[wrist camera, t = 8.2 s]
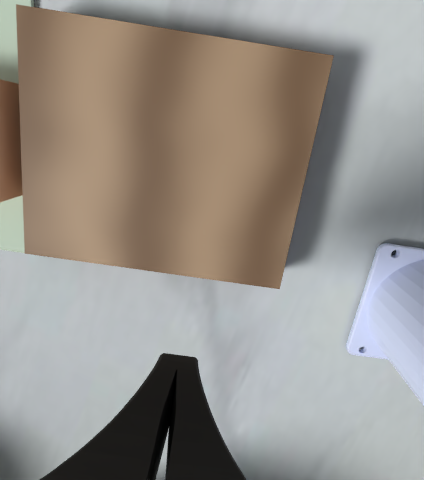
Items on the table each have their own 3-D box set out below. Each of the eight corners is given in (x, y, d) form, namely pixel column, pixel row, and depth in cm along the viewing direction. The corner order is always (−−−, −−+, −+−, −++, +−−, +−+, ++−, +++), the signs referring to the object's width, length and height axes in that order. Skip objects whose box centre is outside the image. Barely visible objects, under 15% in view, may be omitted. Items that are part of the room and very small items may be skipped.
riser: (317, 66, 18) (333, 55, 15) (272, 271, 21) (279, 289, 19) (44, 21, 17) (16, 4, 15) (46, 239, 21) (24, 253, 18)
